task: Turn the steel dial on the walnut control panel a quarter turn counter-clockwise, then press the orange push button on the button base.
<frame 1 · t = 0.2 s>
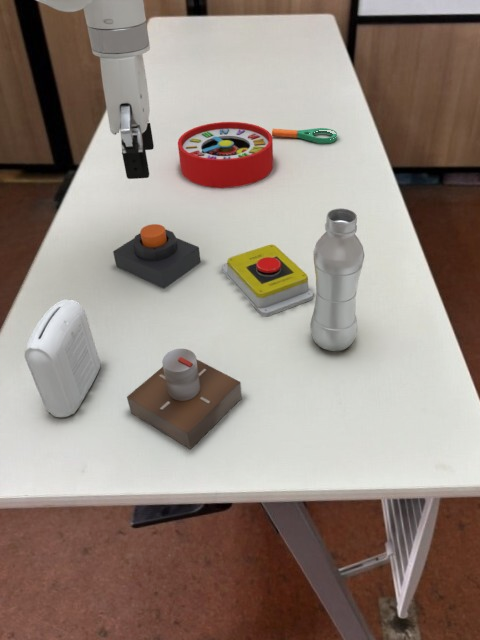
hand: (141, 162, 86), 17 cm above the table, tool pointing down, fingers open, 9 cm apart
toy clock: (227, 167, 124), on the table
orange push button: (153, 236, 93), point 6 cm above the table, slide at 0.2 cm
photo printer: (76, 390, 76), on the table
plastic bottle: (332, 342, 81), on the table
dial panel: (186, 405, 73), on the table
emergency button: (266, 284, 92), on the table
dial: (181, 373, 69), point 6 cm above the table, hinge at 0.0°
button base: (158, 265, 96), on the table
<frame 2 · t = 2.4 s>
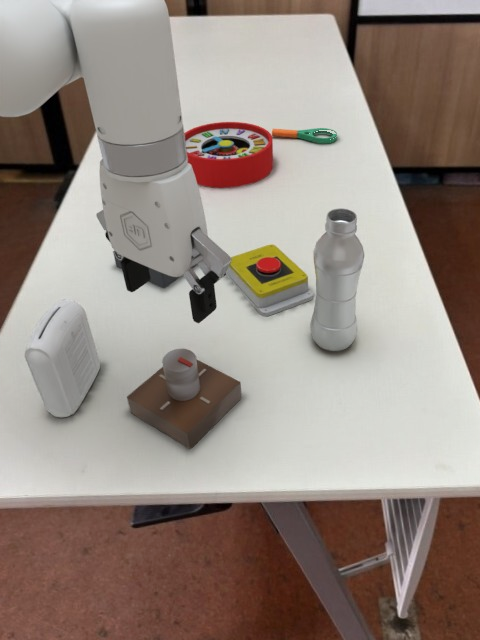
hand: (171, 300, 63), 16 cm above the table, tool pointing down, fingers open, 9 cm apart
nothing on the table moved.
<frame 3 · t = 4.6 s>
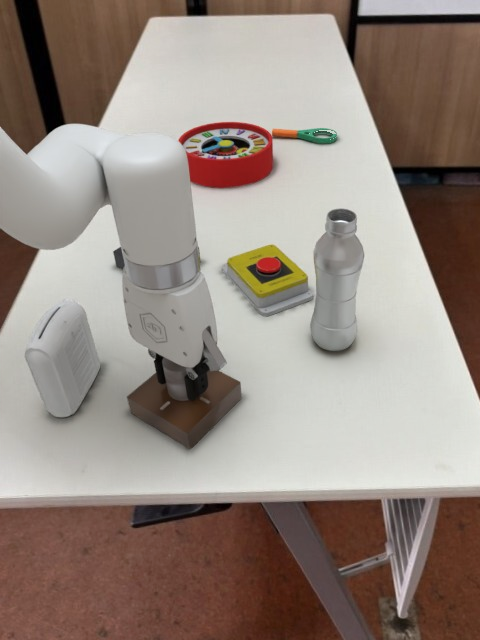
hand: (183, 384, 70), 4 cm above the table, tool pointing down, fingers closed on dial, 4 cm apart
dial: (181, 373, 69), point 6 cm above the table, hinge at -0.1°, touching gripper
everything else where it was.
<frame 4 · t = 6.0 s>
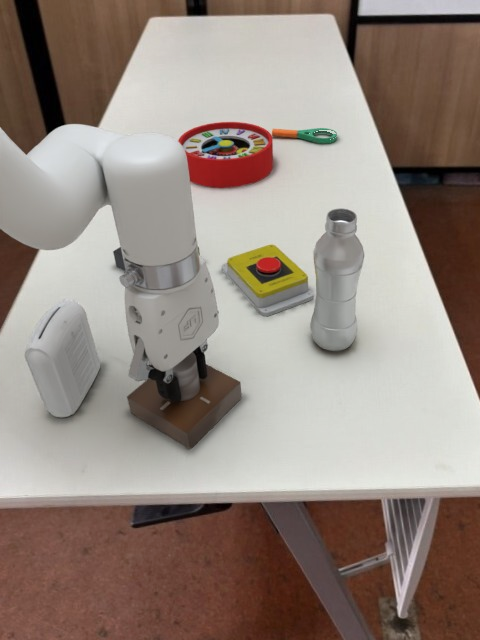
hand: (183, 384, 70), 4 cm above the table, tool pointing down, fingers closed on dial, 4 cm apart
dial: (181, 373, 69), point 6 cm above the table, hinge at 90.2°, touching gripper
everything else where it was.
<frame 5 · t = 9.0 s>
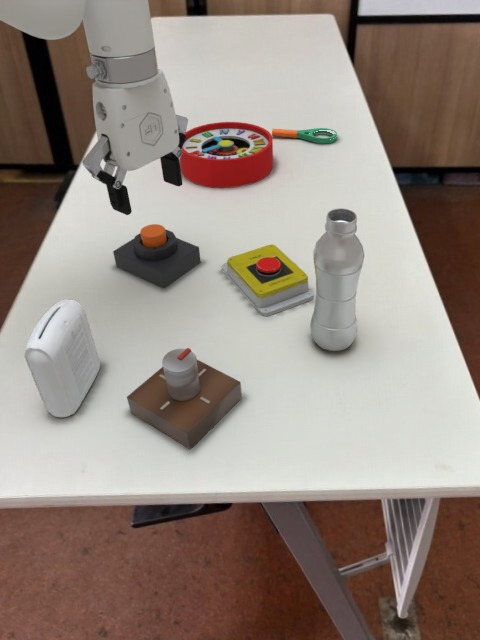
hand: (148, 197, 79), 17 cm above the table, tool pointing down, fingers open, 9 cm apart
dial: (181, 373, 69), point 6 cm above the table, hinge at 92.4°
everything else where it was.
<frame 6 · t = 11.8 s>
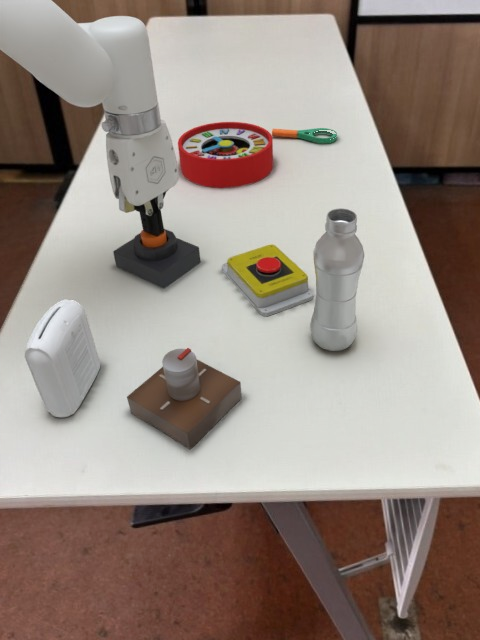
hand: (153, 231, 92), 6 cm above the table, tool pointing down, fingers closed
orange push button: (154, 237, 93), point 5 cm above the table, slide at -0.2 cm, touching gripper
everything else where it was.
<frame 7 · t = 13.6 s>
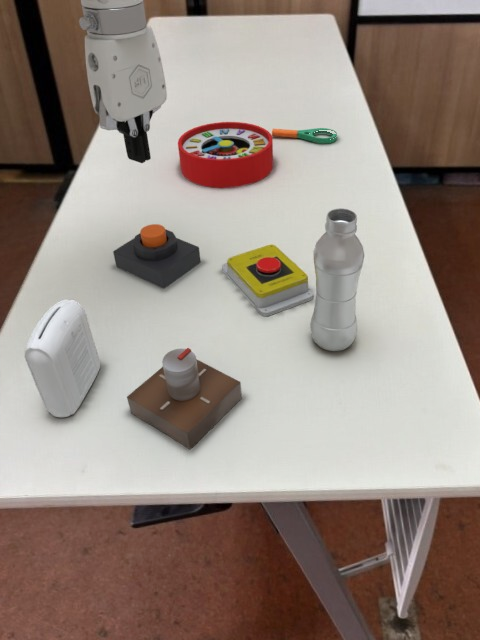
hand: (139, 158, 84), 19 cm above the table, tool pointing down, fingers closed
orange push button: (153, 236, 93), point 6 cm above the table, slide at 0.1 cm
everything else where it was.
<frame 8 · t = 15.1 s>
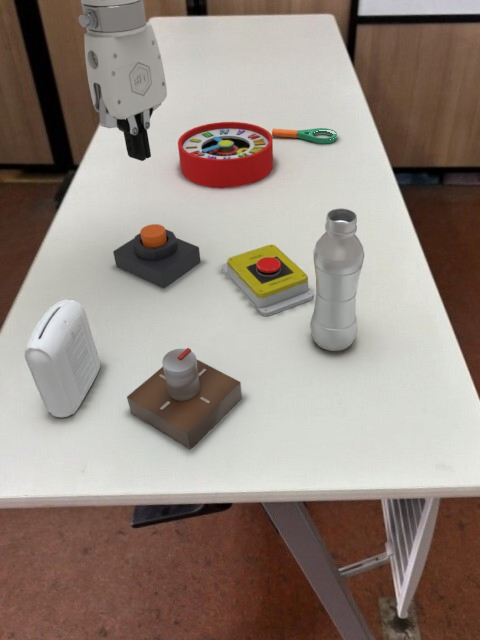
hand: (139, 156, 84), 19 cm above the table, tool pointing down, fingers closed
nothing on the table moved.
at the end: dial at +92° (first picture: +0°); orange push button pushed in 1.1 cm at the most during the clip, back to where it started at the end; orange push button slide at 0.1 cm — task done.
